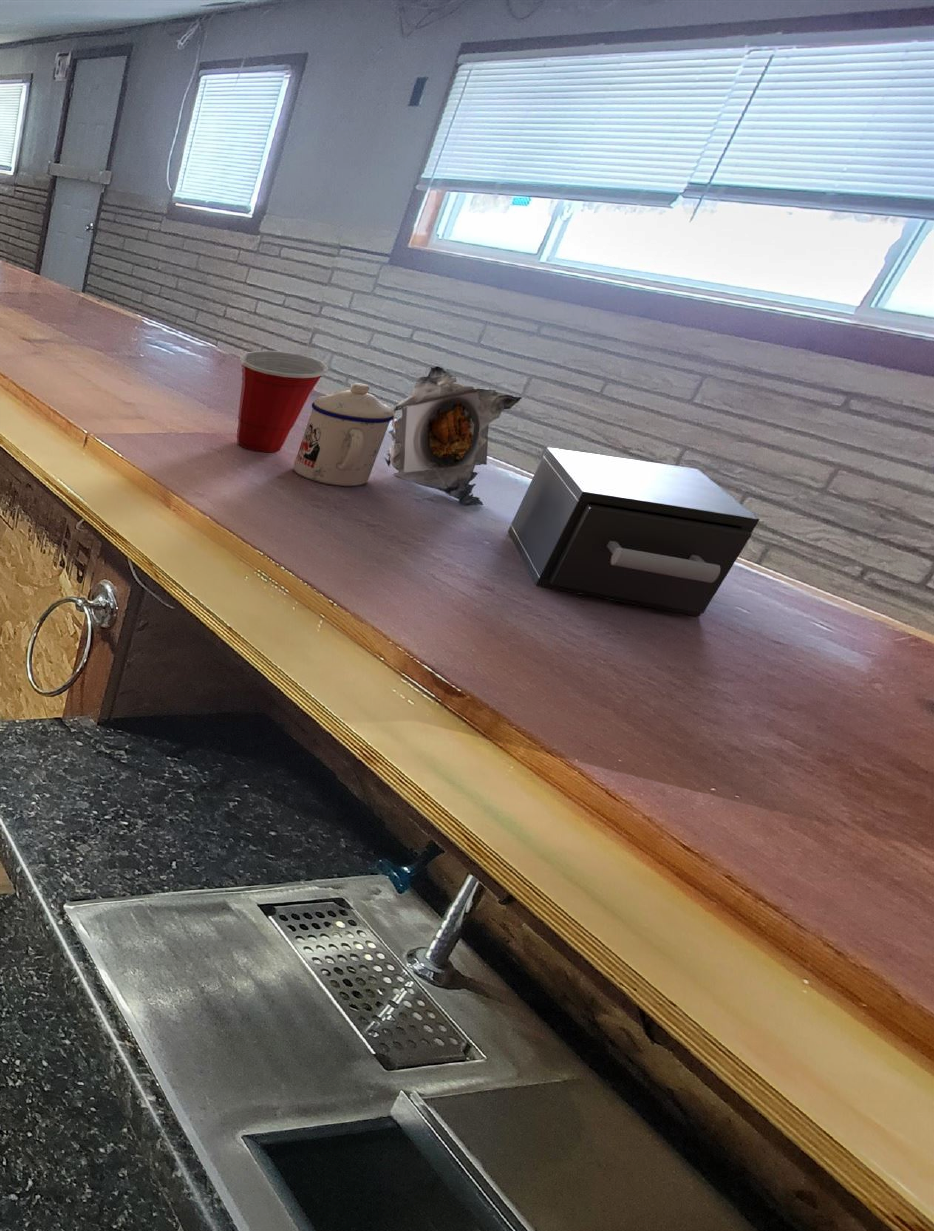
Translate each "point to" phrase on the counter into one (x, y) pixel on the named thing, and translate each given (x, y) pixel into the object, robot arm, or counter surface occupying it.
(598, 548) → the open drawer unit
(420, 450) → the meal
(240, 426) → the plastic cup
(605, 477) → the small drawer cabinet
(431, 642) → the counter surface
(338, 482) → the teacup with lid
